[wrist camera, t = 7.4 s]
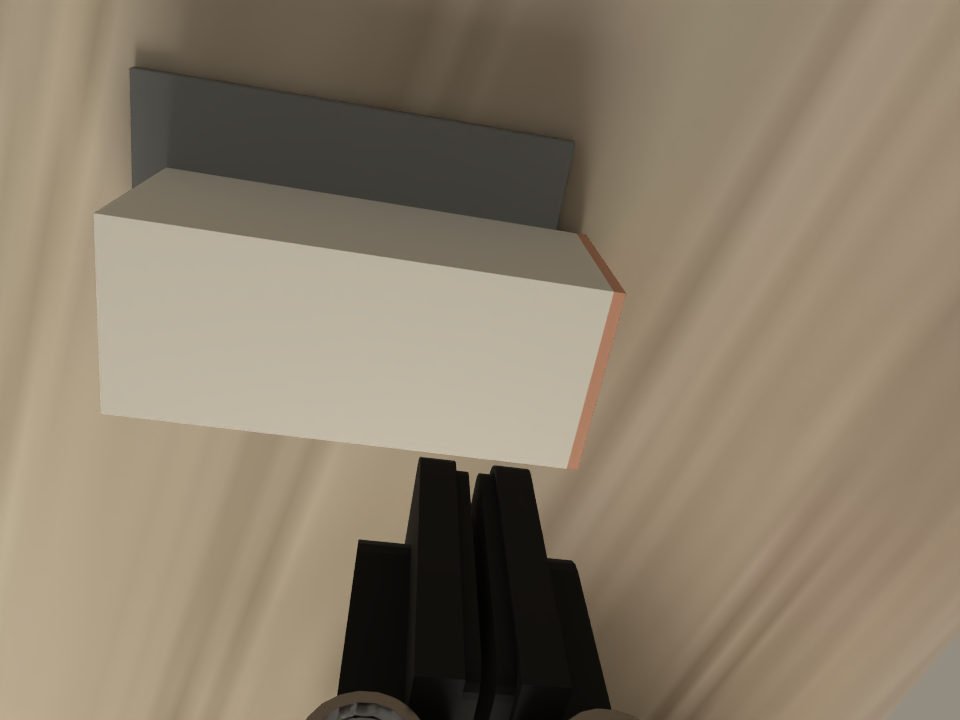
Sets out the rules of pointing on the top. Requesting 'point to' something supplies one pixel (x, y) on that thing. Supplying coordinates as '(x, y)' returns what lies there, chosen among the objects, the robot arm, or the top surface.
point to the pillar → (350, 320)
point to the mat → (344, 149)
